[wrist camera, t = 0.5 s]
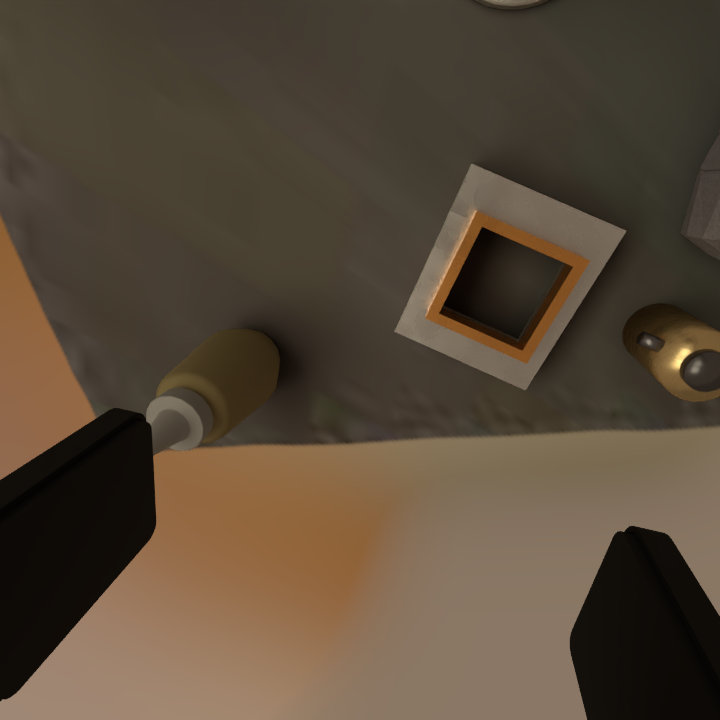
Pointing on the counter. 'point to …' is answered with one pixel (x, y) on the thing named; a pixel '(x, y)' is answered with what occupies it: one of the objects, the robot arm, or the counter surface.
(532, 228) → the orange white open box
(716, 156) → the grey rounded bag
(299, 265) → the counter surface
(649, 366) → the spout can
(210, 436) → the squeeze bottle
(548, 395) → the counter surface
